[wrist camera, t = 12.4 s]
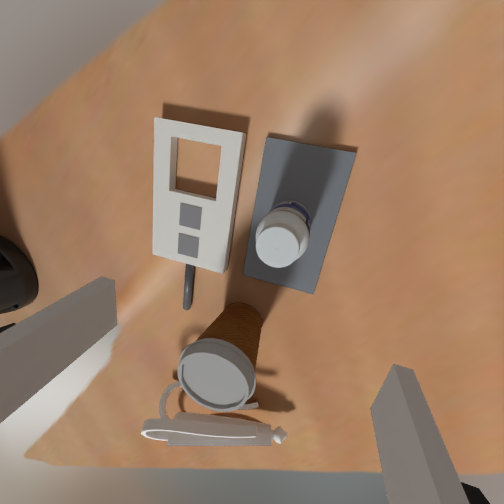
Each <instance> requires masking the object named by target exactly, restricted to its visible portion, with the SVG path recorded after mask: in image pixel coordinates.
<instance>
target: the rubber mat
mask: <svg viewBox="0 0 504 504" xmlns="http://www.w3.org/2000/svg"><path fill="white" fill-rule="evenodd" d="M355 156H356V153H354V152H348V151H343V150H337V149H331V148H326V147H320V146H314V145H309V144H303V143H297V142H292V141H286V140H280V139H275V138H269V137H266V142H265V148H264V153H263V159H262V165H261V171H260V177H259V183H258V189H257V194H256V200H255V206H254V212H253V218H252V224H251V229H250V235H249V241H248V247H247V253H246V259H245V265H244V270H243V275H244V276H248V277H252V278H255V279H259V280H263V281H266V282H270V283H274V284H277V285H281V286H285V287H288V288H292V289H296V290H299V291H303V292H307V293H310V294H314V290H315V287H316V284H317V281H318V277H319V274H320V271H321V268H322V264H323V261H324V258H325V254H326V251H327V248H328V245H329V241H330V238H331V235H332V232H333V228H334V225H335V222H336V218H337V215H338V212H339V209H340V205H341V202H342V199H343V196H344V192H345V189H346V186H347V182H348V179H349V176H350V173H351V169H352V166H353V163H354V159H355ZM284 201H295V202H298V203H300V204H301V205H303V206H304V207H305V208H306V209H307V211H308V212H309V214H310V217H311V229H310V236H309V243H308V246H307V249H306V250H305V252H304V253H303V255H302V256H301V257H300V258H298V259H297V260H295V261H294V262H293V263H291V264H290V265H288V266H286V267H281V268H276V267H271V266H269V265H267V264H265V263H264V262H263V261H262V260H261V259H260V258H259V256H258V254H257V251H256V230H257V227H258V225H259V223H260V222H261V221H262V219H263V218H264V217H265V216H266V215H267V214H268V213H269V212H270V210H271V209H272V208H273V207H274V206H276V205H277V204H279V203H281V202H284Z"/></svg>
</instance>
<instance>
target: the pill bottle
mask: <svg viewBox="0 0 504 504" xmlns="http://www.w3.org/2000/svg"><path fill="white" fill-rule="evenodd" d="M310 229H311V217H310V214H309V212H308V211H307V209H306V208H305V207H304V206H303V205H301V204H300V203H298V202H295V201H284V202H281V203H279V204H277V205H276V206H274V207H273V208H272V209H271V210H270V212H269V213H268V214H267V215H266V216H265V217H264V218H263V219H262V221H261V222H260V223H259V225H258V227H257V230H256V251H257V254H258V256H259V258H260V259H261V260H262V261H263V262H264V263H265V264H267V265H269V266H271V267H276V268H281V267H286V266H288V265H290V264H291V263H293V262H294V261H295V260H297V259H298V258H300V257H301V256H302V255H303V253H304V252H305V250H306V249H307V246H308V243H309V236H310Z"/></svg>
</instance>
